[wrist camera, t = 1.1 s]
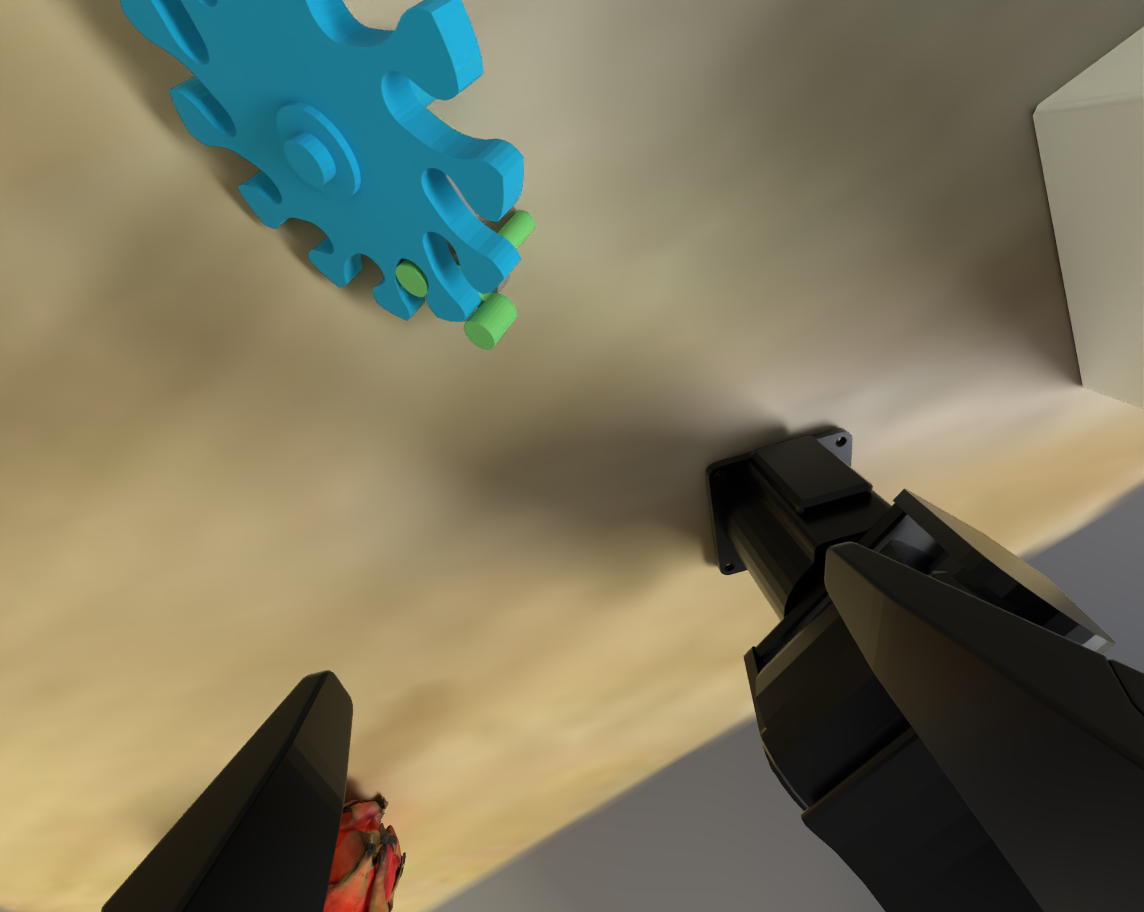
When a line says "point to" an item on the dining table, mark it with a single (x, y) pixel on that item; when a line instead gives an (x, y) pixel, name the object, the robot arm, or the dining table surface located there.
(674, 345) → the dining table surface
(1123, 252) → the gable box
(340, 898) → the dragon fruit
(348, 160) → the gear
